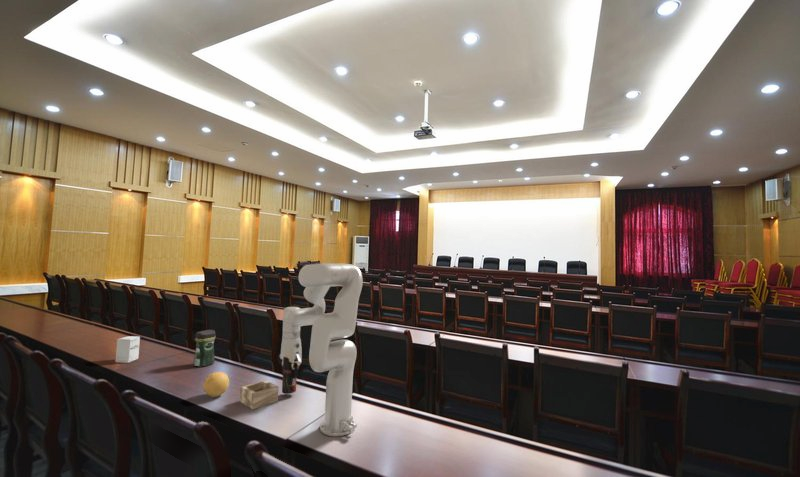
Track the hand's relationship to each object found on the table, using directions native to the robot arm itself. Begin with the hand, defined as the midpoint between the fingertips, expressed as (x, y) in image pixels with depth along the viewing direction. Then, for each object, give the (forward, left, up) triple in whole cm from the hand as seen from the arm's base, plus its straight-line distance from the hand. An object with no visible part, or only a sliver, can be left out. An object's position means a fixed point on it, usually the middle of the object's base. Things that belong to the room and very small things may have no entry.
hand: (289, 375), depth 152 cm
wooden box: (+4, +12, -9) cm, 15 cm away
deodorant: (0, 0, -7) cm, 7 cm away
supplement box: (+103, +35, -9) cm, 109 cm away
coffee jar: (+68, +9, -9) cm, 69 cm away
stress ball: (+22, +22, -9) cm, 32 cm away
